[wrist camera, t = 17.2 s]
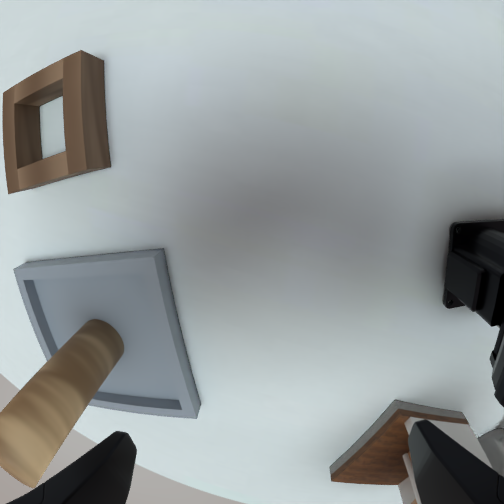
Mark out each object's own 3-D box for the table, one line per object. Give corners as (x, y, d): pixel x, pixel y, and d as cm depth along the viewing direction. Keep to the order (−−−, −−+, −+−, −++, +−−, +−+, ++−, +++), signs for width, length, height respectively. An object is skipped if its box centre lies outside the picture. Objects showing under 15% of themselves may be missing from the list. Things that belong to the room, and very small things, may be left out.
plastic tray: (163, 248, 20) (153, 256, 18) (201, 404, 24) (196, 418, 22) (26, 262, 21) (13, 269, 19) (75, 390, 25) (67, 400, 23)
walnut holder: (103, 60, 16) (81, 50, 13) (110, 167, 18) (86, 169, 16) (27, 96, 17) (3, 92, 14) (33, 188, 19) (8, 194, 16)
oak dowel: (115, 319, 21) (6, 452, 8) (130, 361, 22) (47, 496, 9) (77, 318, 22) (-32, 428, 8) (92, 358, 23) (5, 473, 9)
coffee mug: (473, 470, 27) (491, 514, 18) (434, 474, 27) (453, 527, 17) (529, 409, 23) (559, 452, 14) (499, 408, 23) (533, 462, 13)
